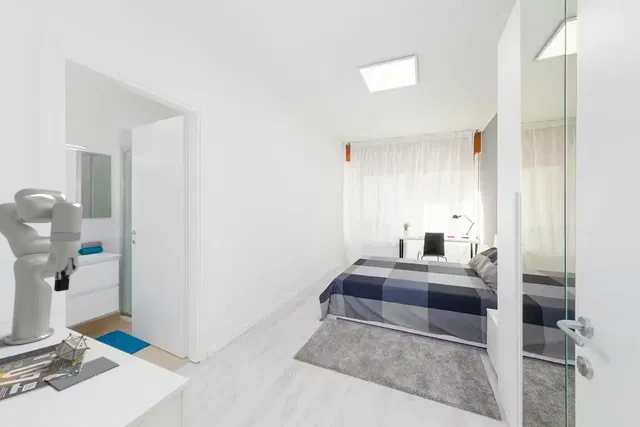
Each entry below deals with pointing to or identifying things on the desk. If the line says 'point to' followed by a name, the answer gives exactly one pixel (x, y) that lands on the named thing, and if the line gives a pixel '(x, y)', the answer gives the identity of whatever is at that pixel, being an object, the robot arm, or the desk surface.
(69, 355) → the game die
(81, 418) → the desk surface
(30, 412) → the desk surface
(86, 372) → the charcoal mat
